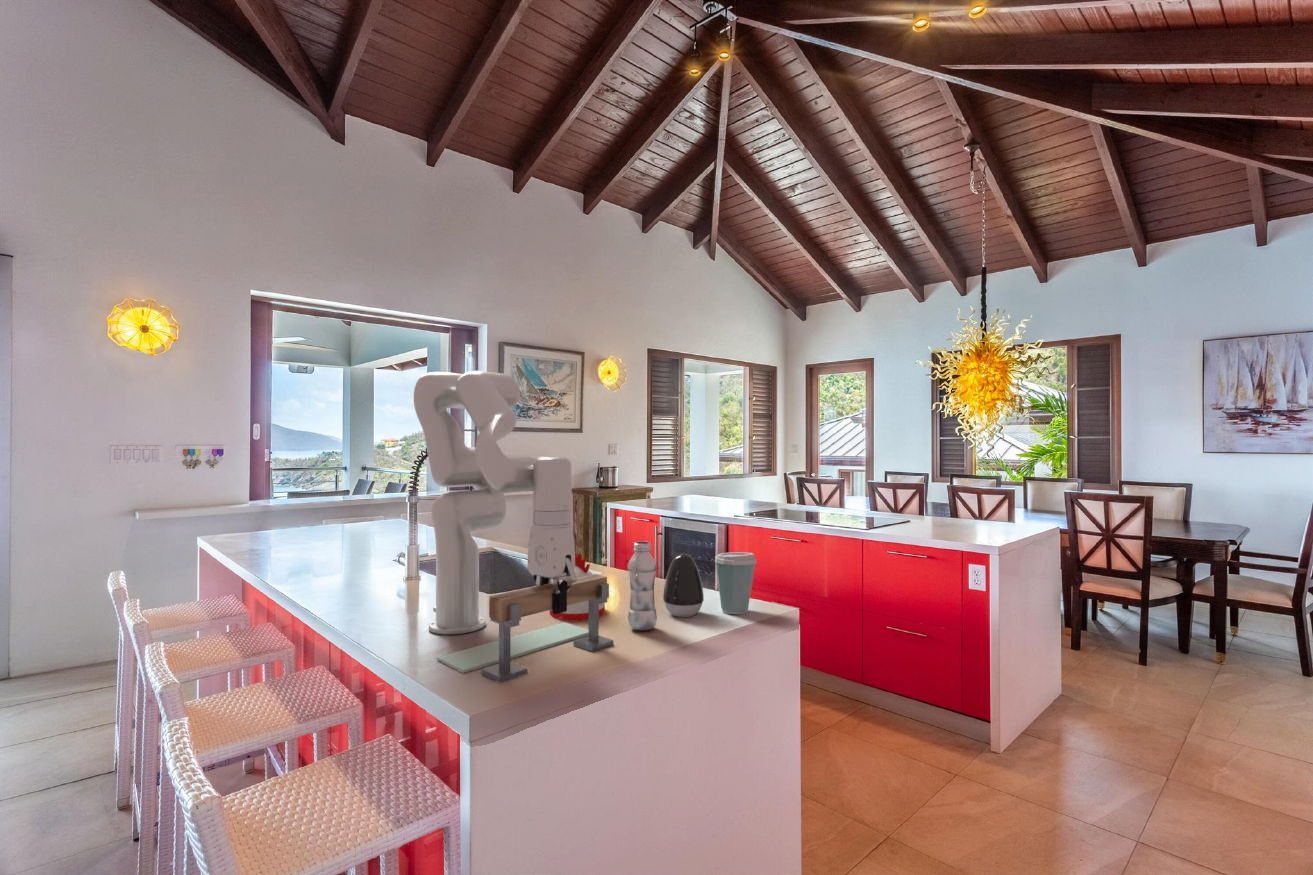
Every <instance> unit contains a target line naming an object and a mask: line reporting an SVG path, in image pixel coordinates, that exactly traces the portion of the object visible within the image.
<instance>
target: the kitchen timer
mask: <svg viewBox="0 0 1313 875" xmlns="http://www.w3.org/2000/svg"><path fill="white" fill-rule="evenodd" d="M586 562H587V559H586V558H582V553H579V554H577V552H575V571H574V572H575V574H576V577H577V578H578V577H583V576H588V575H593V574H594V573H593V572H591V571H590V566H591V564H590V563H589V564H586ZM559 581H562V580H559ZM605 604H606V603H603V604H599V617H601V616H603V615H604V614H605V611H606V608H605V607H606V606H605ZM550 615H551V616H550ZM549 616H550V617H552V618H554V619H558V620H562V621H563V620H564V621H585V620H589V601H584V602H580V603H576V604H572V605H568V606H567V611H566V612H563V613H559V614H553V613H552V610H549Z"/></svg>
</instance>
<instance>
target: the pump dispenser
mask: <svg viewBox="0 0 1313 875" xmlns="http://www.w3.org/2000/svg"><path fill="white" fill-rule="evenodd" d="M695 558H696V555H695V554H694V553H691V554H690V555H689V554H687V553H679V554H677V555H675V557H674V558H673V559H672V561H671V562H670V564H669V567H668V570H667V572H666V573H667V574H666V577H665V582H664V587H663V594H662V596H663V597H662V599H663V600H662V601H663V602H664V606H665V608H666V610H667V612H669V614H671V615H673V616H675V617H680V618H689V617H693V616H695V615H696V614H698V613H699V612H700V610H701V608H702V606H703V602H704V599H705V597H704V596H705V595H704V589H703V588H704V587H703V583H702V578H701V575H700V572H699V568H698V565H697V563H696V562H695V560H694V559H695Z"/></svg>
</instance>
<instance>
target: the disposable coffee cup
mask: <svg viewBox="0 0 1313 875" xmlns="http://www.w3.org/2000/svg"><path fill="white" fill-rule="evenodd" d="M714 561H715V567H716V568H715V569H716V576H717V584H718V592H719V599H720V600H719V601H720V608H721V610H722V612H723V613H725V614H729V615H744V614H747V612H748V610H749V606H750V601H751V595H752V594H751V593H752V586H753V582H754V581H753V580H754V574H755V569H756V568H755V567H756V564H757V558H756V557H755V553H754V552H743V551H742V552H741V551H739V552H737V551H736V552H723V553H722V552H721V553H718V554H717V555H716V556H715V557H714Z"/></svg>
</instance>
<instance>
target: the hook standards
mask: <svg viewBox="0 0 1313 875" xmlns="http://www.w3.org/2000/svg"><path fill="white" fill-rule="evenodd" d="M609 598H610V583H609V582H607V583H603V584H599V598H596V599H592V600H588V601H589V619H588V630H589V635H587V636H584V637H580V638H577V639H574V640H573V643H572V644H573V646H574V647H577V648H580V649H582V650H585V651H588V652H591V653H594V652H597V651H600V650H602V649H606V648H608V647H612V646H614V644H615V643H614V639H610V638H608V637H605V636H602V635H599V634H600V633H599V628H600V627H599V625H600V624H599V619H600V618H599V617H600V616H599V604H603V603H605V604H606V603H608V599H609ZM521 621H522V617H521V604H519V603H516V604H511V605H509V620H508V621H504V622H500V621H497V620H494V619H491V618H490V622H493V623H496V624H498V640H499V663H496V664H492V665H489V666H486V667H483V668H481V675H482V676H483V677H486V678H488V679H490V680H492V681H495V682H496V681H497V682H496V683H498V684H501V683H505V682H507V681H510V680H513V679H516V678H519V677H520V678H521V677H523V676H525V675H528V672H529V671H528V669H529V668H528V667H525V666H523V665H521V664H518V663H516V662H513V661H511V659H510V637H511V630H512V629H511V628H514V627H518V626H520V622H521ZM504 681H505V682H504Z"/></svg>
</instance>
